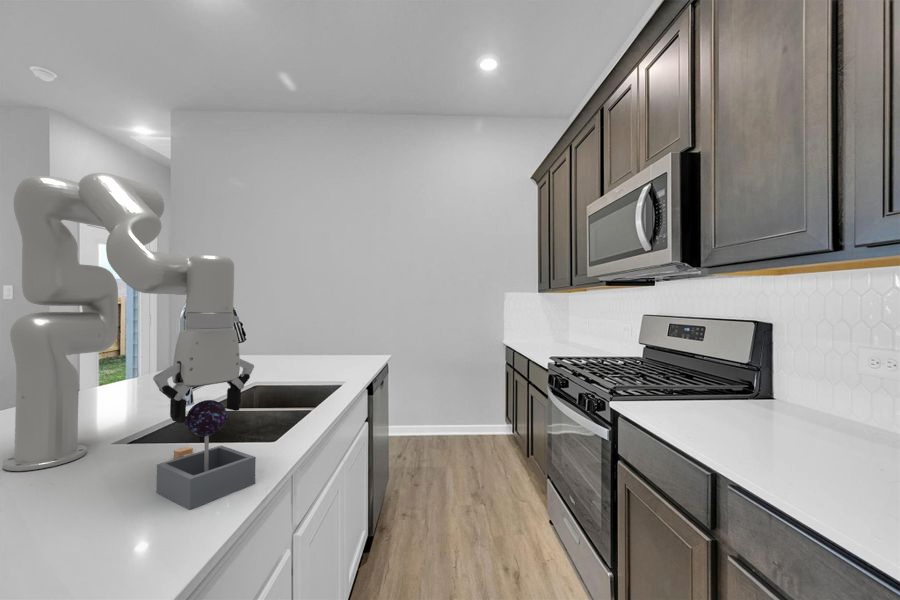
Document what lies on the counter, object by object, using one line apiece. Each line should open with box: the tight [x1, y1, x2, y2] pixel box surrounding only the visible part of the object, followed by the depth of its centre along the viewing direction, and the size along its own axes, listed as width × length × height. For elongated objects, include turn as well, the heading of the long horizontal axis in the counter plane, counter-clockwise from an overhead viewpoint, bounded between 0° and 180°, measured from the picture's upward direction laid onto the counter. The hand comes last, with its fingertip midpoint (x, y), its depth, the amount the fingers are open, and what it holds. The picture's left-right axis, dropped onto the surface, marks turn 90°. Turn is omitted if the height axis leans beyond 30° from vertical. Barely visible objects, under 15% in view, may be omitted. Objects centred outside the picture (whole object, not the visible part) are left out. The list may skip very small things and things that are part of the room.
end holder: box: [155, 445, 256, 511], centre depth 74 cm, size 12×12×5 cm
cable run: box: [173, 446, 195, 459], centre depth 83 cm, size 16×4×2 cm, turn 43°
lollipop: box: [184, 399, 229, 472], centre depth 74 cm, size 7×7×15 cm
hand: (207, 415), depth 74 cm, fingers open, 9 cm apart
